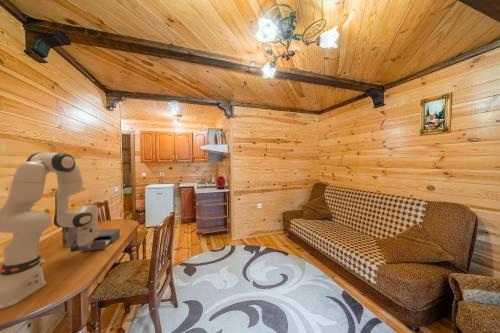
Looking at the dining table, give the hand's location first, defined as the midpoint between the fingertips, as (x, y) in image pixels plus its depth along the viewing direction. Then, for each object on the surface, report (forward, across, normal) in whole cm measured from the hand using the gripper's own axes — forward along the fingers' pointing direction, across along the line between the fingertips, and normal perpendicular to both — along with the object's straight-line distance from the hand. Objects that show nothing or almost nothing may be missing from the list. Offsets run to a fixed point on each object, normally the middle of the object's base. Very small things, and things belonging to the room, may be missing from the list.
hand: (90, 247), depth 130 cm
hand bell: (+4, +8, -25) cm, 26 cm away
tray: (+3, -9, 0) cm, 10 cm away
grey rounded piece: (+4, -7, -13) cm, 16 cm away
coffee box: (+4, -18, -22) cm, 29 cm away
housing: (+4, -20, 0) cm, 21 cm away
